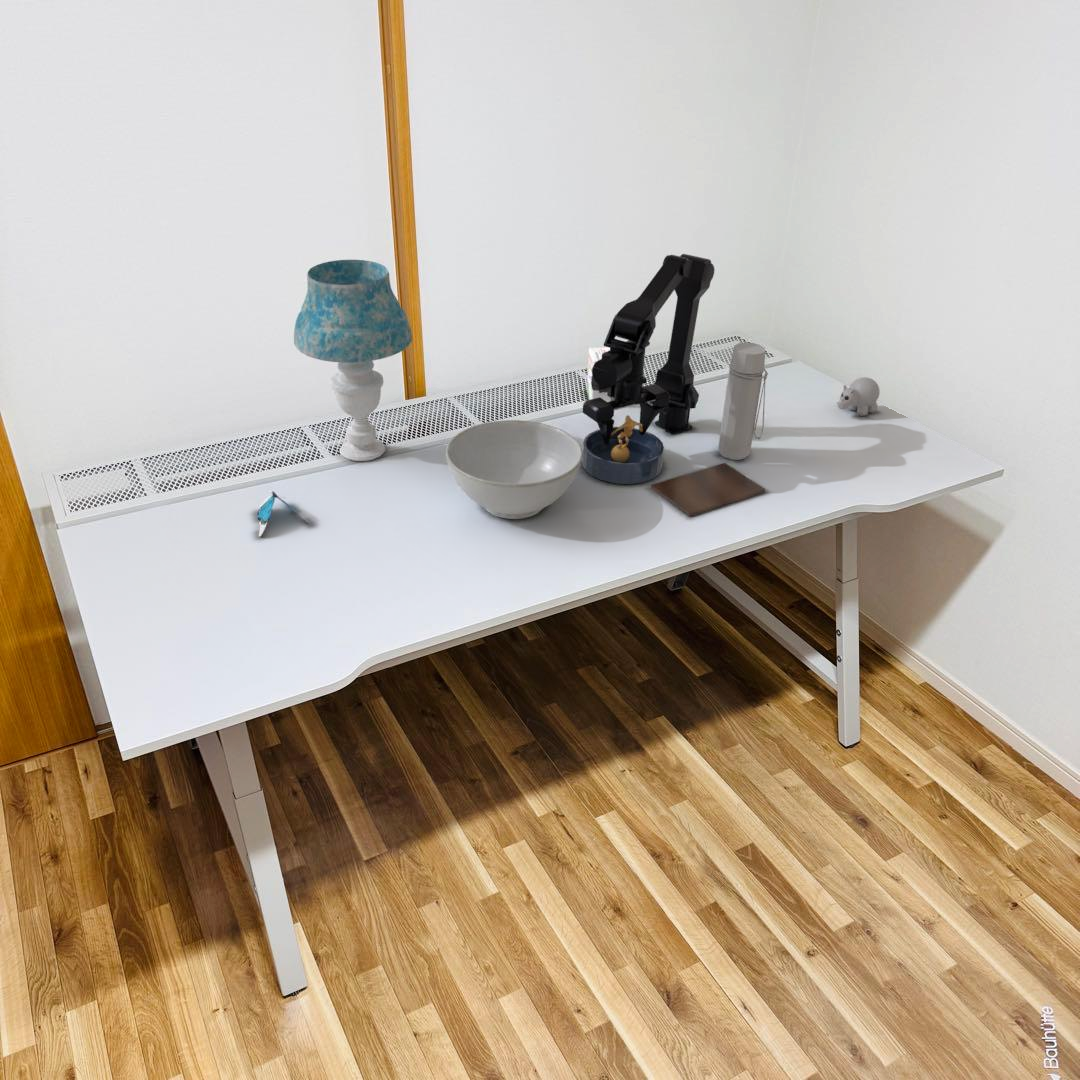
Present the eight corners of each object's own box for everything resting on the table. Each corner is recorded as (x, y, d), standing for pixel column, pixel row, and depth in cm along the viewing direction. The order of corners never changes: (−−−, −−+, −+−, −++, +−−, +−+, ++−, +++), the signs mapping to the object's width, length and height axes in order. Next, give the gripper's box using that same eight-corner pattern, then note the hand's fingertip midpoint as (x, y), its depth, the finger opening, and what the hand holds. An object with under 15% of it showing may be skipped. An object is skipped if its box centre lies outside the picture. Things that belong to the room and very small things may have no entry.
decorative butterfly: (293, 482, 196) (306, 493, 188) (299, 512, 198) (312, 525, 190) (242, 493, 192) (253, 505, 184) (249, 524, 194) (260, 537, 186)
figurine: (631, 454, 217) (635, 404, 211) (645, 466, 213) (650, 416, 206) (598, 461, 214) (601, 411, 208) (612, 474, 210) (615, 423, 203)
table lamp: (405, 421, 229) (395, 249, 207) (428, 470, 210) (420, 286, 188) (300, 434, 222) (279, 258, 200) (315, 485, 203) (293, 296, 181)
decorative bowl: (516, 458, 215) (517, 408, 208) (607, 505, 199) (611, 452, 193) (420, 500, 199) (417, 447, 192) (510, 555, 183) (511, 499, 177)
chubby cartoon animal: (823, 412, 239) (830, 379, 234) (859, 402, 244) (866, 370, 239) (845, 423, 233) (852, 390, 229) (881, 413, 239) (889, 381, 234)
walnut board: (724, 465, 215) (724, 462, 214) (764, 492, 205) (765, 489, 205) (650, 488, 206) (650, 484, 205) (689, 517, 196) (689, 513, 196)
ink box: (585, 391, 245) (588, 335, 237) (605, 391, 246) (609, 334, 238) (590, 406, 238) (594, 349, 230) (611, 406, 238) (615, 348, 230)
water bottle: (713, 458, 217) (727, 351, 204) (721, 443, 223) (736, 338, 210) (754, 466, 215) (772, 359, 201) (761, 451, 221) (779, 345, 207)
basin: (630, 440, 224) (632, 420, 221) (677, 473, 211) (680, 452, 209) (567, 457, 216) (568, 437, 213) (611, 492, 204) (613, 471, 201)
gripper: (642, 349, 212) (637, 415, 220) (569, 365, 203) (566, 433, 212) (674, 367, 204) (667, 435, 212) (600, 385, 195) (595, 455, 204)
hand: (624, 439), depth 210 cm, fingers open, 9 cm apart
